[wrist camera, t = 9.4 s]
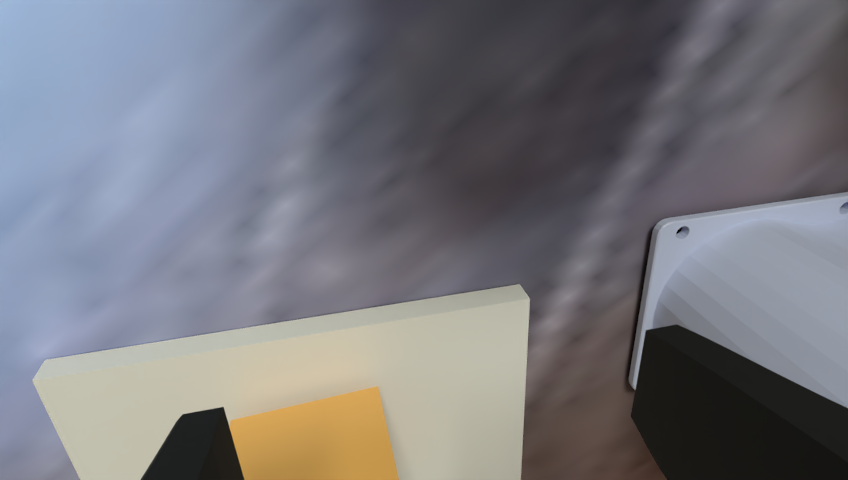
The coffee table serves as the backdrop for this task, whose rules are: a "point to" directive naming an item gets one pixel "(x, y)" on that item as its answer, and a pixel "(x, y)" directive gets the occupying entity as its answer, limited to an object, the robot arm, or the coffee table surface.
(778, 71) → the coffee table surface
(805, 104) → the coffee table surface
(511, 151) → the coffee table surface
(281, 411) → the amber foam cube
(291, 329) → the board
